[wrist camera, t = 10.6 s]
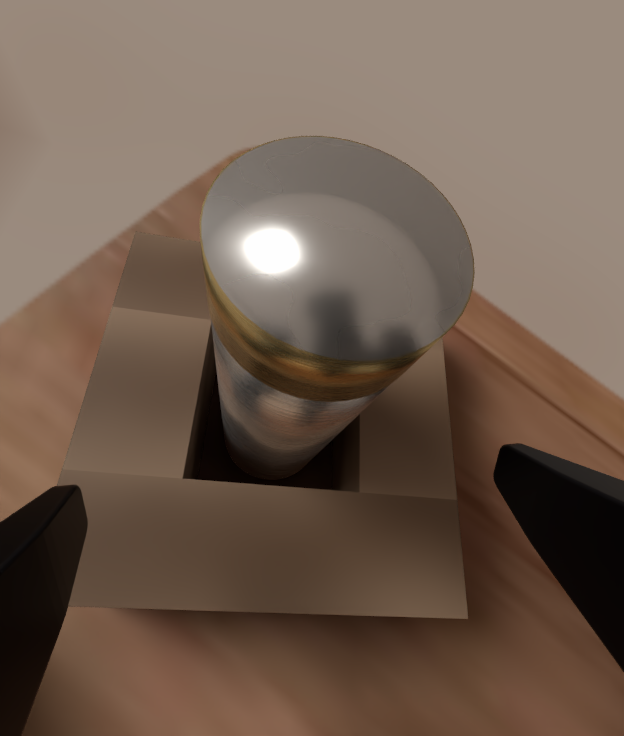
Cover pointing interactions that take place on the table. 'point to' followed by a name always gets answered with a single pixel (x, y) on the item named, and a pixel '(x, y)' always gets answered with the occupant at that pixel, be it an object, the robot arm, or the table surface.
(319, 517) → the block
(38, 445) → the table surface
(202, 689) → the table surface
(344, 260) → the steel pin
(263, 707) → the table surface
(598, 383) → the table surface
